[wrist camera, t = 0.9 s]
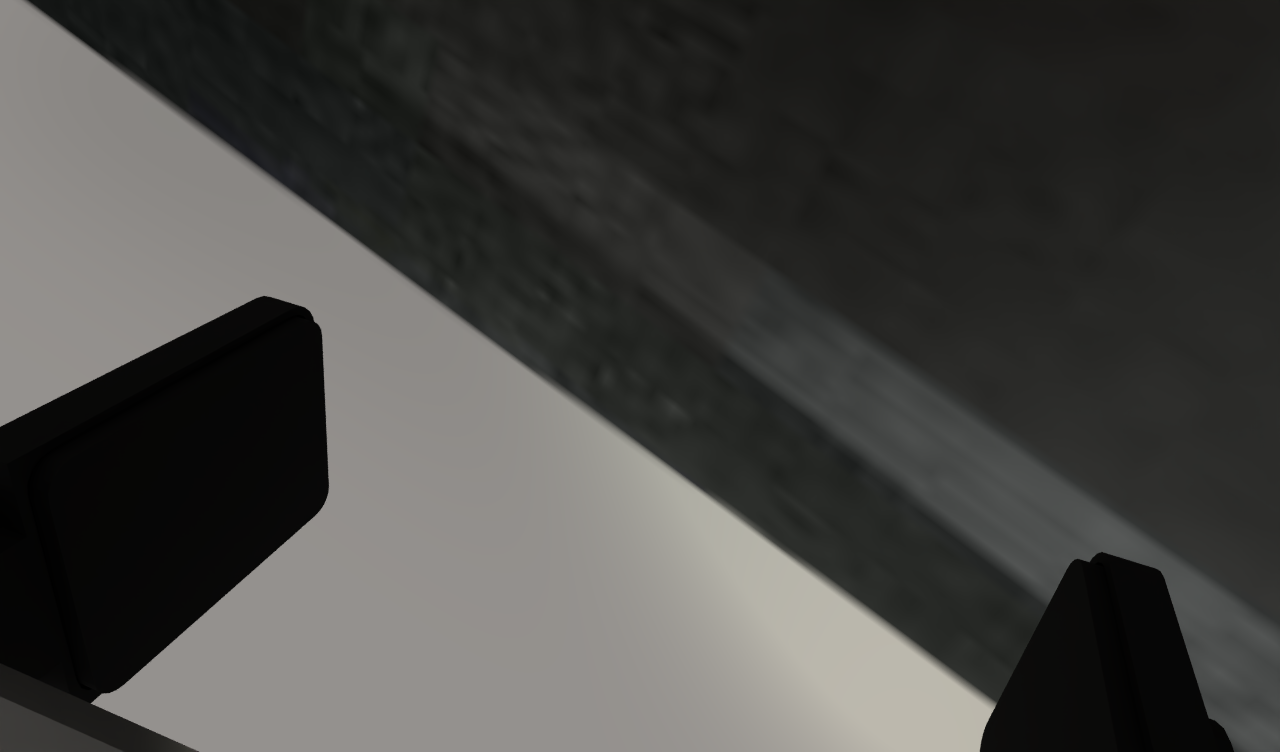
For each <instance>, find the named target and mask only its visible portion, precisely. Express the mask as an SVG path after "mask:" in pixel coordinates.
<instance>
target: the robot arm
mask: <svg viewBox="0 0 1280 752" xmlns="http://www.w3.org/2000/svg"><path fill="white" fill-rule="evenodd" d="M328 490H329V479H328V457H327V434H326V412H325V392H324V368H323V346H322V333H321V329H320V327H319V325H318V324H317V323H315V322H314V320H313V316H312V314H311V313H310V311H309V310H307V309H306V308H305V307H301V306H298V305H295V304H292V303H288V302H285V301H282V300H279V299H275V298H272V297H267V296H262V297H259V298H256V299H254V300H252V301H250V302H248V303H246V304H244V305H242V306H240V307H238V308H236V309H234V310H232V311H230V312H228V313H226V314H224V315H222V316H220V317H218V318H216V319H214V320H212V321H210V322H208V323H206V324H204V325H202V326H200V327H198V328H196V329H194V330H192V331H190V332H188V333H186V334H184V335H182V336H180V337H178V338H176V339H174V340H172V341H170V342H168V343H166V344H164V345H162V346H160V347H158V348H156V349H154V350H152V351H150V352H148V353H146V354H144V355H142V356H140V357H139V358H136V359H135V360H132V361H130V362H128V363H126V364H124V365H122V366H120V367H119V368H116V369H114V370H112V371H111V372H109V373H107V374H105V375H103V376H101V377H99V378H97V379H95V380H93V381H91V382H89V383H87V384H85V385H83V386H81V387H79V388H77V389H75V390H73V391H71V392H69V393H67V394H65V395H63V396H61V397H59V398H57V399H55V400H53V401H51V402H49V403H47V404H45V405H43V406H41V407H39V408H37V409H35V410H33V411H31V412H29V413H27V414H25V415H23V416H21V417H19V418H17V419H15V420H13V421H11V422H9V423H7V424H5V425H3V426H1V427H0V752H198V751H196V750H194V749H191V748H189V747H187V746H185V745H183V744H180V743H178V742H176V741H173V740H171V739H169V738H167V737H164V736H162V735H160V734H158V733H156V732H153V731H151V730H149V729H147V728H144V727H142V726H140V725H138V724H135V723H133V722H131V721H129V720H126V719H124V718H122V717H120V716H117V715H115V714H113V713H111V712H108V711H106V710H104V709H102V708H99V707H97V706H95V705H93V704H90V703H92V702H93V701H94V700H95V699H96V698H97V697H98V696H100V695H101V694H102V693H110V692H113V691H115V690H117V689H119V688H120V687H121V686H123V685H124V684H125V683H126V682H127V681H129V680H130V679H131V678H132V677H133V676H134V675H135V674H136V673H138V672H139V671H140V670H141V669H142V668H143V667H144V666H146V665H147V664H148V663H149V662H150V661H151V660H152V659H153V658H154V657H156V656H157V655H158V654H159V653H160V652H161V651H162V650H164V649H165V648H166V647H167V646H168V645H169V644H170V643H172V642H173V641H174V640H175V639H176V638H177V637H178V636H179V635H181V634H182V633H183V632H184V631H185V630H186V629H187V628H188V627H190V626H191V625H192V624H193V623H194V622H195V621H196V620H198V619H199V618H200V617H201V616H202V615H203V614H204V613H206V612H207V611H208V610H209V609H210V608H211V607H212V606H213V605H215V604H216V603H217V602H218V601H219V600H220V599H221V598H222V597H224V596H225V595H226V594H227V593H228V592H229V591H230V590H231V589H233V588H234V587H235V586H236V585H237V584H238V583H239V582H241V581H242V580H243V579H244V578H245V577H246V576H247V575H249V574H250V573H251V572H252V571H253V570H254V569H255V568H256V567H258V566H259V565H260V564H261V563H262V562H263V561H264V560H265V559H267V558H268V557H269V556H270V555H271V554H272V553H273V552H275V551H276V550H277V549H278V548H279V547H280V546H281V545H282V544H284V543H285V542H286V541H287V540H288V539H289V538H290V537H292V536H293V535H294V534H295V533H296V532H297V531H298V530H300V529H301V528H302V527H303V526H304V525H305V524H306V523H307V522H308V521H310V520H311V519H312V518H313V517H314V516H315V515H316V514H317V513H318V512H319V511H320V510H321V508H322V507H323V505H324V503H325V501H326V498H327V495H328ZM980 752H1234V750H1233V747H1232V744H1231V742H1230V740H1229V738H1228V736H1227V734H1226V732H1225V730H1224V728H1223V727H1222V726H1220V725H1219V724H1218V723H1217V722H1216V721H1215V720H1212V719H1209V718H1208V715H1207V712H1206V709H1205V706H1204V702H1203V699H1202V696H1201V693H1200V690H1199V687H1198V683H1197V680H1196V677H1195V674H1194V671H1193V668H1192V664H1191V661H1190V658H1189V655H1188V652H1187V649H1186V645H1185V642H1184V639H1183V636H1182V633H1181V630H1180V627H1179V623H1178V620H1177V617H1176V614H1175V611H1174V608H1173V604H1172V601H1171V598H1170V595H1169V592H1168V589H1167V585H1166V582H1165V579H1164V577H1163V575H1162V573H1161V571H1159V570H1157V569H1155V568H1152V567H1149V566H1146V565H1142V564H1139V563H1136V562H1133V561H1129V560H1126V559H1123V558H1120V557H1116V556H1113V555H1110V554H1107V553H1103V552H1101V553H1098V554H1096V555H1095V556H1094V557H1093V558H1092V560H1091V561H1090V562H1086V561H1083V560H1080V559H1075V560H1074V561H1073V562H1072V563H1071V564H1070V565H1069V567H1068V569H1067V570H1066V572H1065V574H1064V576H1063V578H1062V580H1061V582H1060V584H1059V586H1058V588H1057V590H1056V592H1055V593H1054V595H1053V597H1052V599H1051V601H1050V603H1049V605H1048V607H1047V609H1046V611H1045V613H1044V615H1043V616H1042V618H1041V620H1040V622H1039V624H1038V626H1037V628H1036V630H1035V632H1034V634H1033V636H1032V638H1031V640H1030V641H1029V643H1028V645H1027V647H1026V649H1025V651H1024V653H1023V655H1022V657H1021V659H1020V661H1019V663H1018V664H1017V666H1016V668H1015V670H1014V672H1013V674H1012V676H1011V678H1010V680H1009V682H1008V684H1007V686H1006V687H1005V689H1004V691H1003V693H1002V695H1001V697H1000V699H999V701H998V703H997V705H996V707H995V709H994V710H993V712H992V714H991V716H990V718H989V721H988V722H987V724H986V727H985V730H984V733H983V737H982V741H981V747H980Z"/></svg>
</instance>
